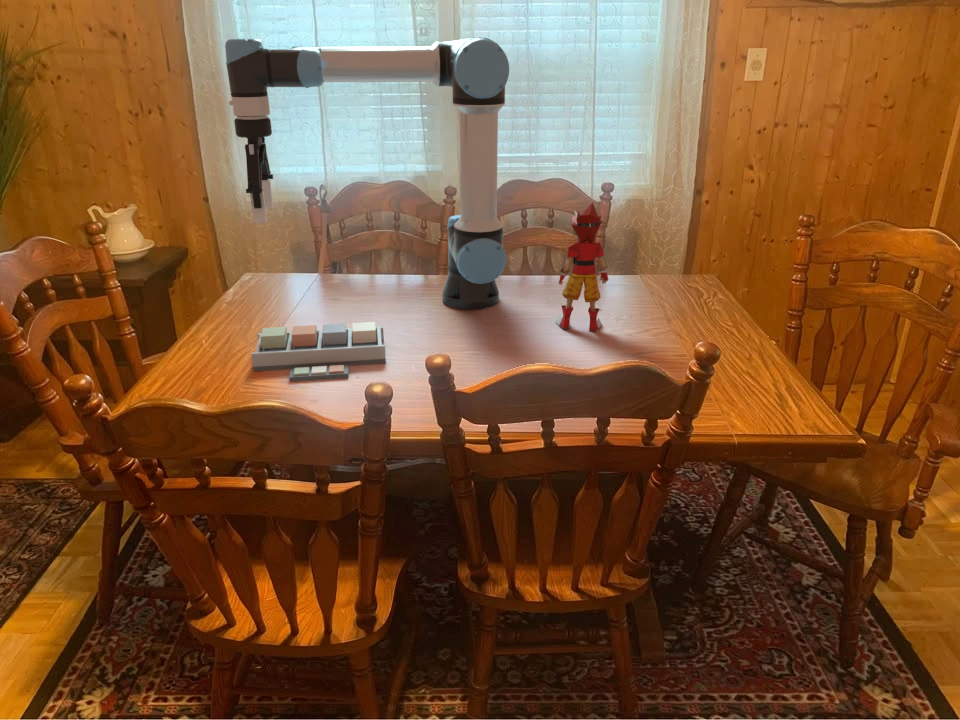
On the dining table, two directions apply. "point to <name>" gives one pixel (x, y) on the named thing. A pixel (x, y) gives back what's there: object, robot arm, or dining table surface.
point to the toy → (583, 268)
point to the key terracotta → (304, 335)
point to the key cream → (364, 332)
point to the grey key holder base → (320, 353)
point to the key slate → (334, 334)
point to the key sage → (274, 337)
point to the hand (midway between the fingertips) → (264, 215)
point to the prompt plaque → (319, 373)
